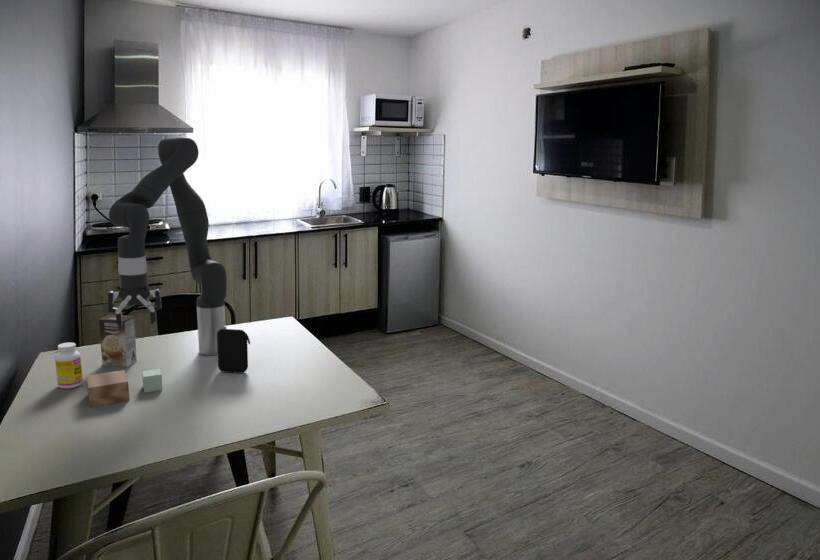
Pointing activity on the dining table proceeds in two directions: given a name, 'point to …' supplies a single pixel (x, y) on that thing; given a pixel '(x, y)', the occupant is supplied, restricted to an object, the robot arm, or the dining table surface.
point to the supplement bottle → (68, 366)
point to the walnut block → (107, 388)
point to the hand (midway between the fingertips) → (136, 324)
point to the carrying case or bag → (232, 350)
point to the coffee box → (117, 341)
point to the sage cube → (152, 380)
